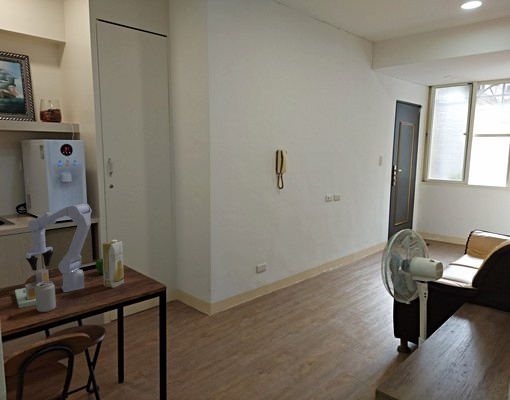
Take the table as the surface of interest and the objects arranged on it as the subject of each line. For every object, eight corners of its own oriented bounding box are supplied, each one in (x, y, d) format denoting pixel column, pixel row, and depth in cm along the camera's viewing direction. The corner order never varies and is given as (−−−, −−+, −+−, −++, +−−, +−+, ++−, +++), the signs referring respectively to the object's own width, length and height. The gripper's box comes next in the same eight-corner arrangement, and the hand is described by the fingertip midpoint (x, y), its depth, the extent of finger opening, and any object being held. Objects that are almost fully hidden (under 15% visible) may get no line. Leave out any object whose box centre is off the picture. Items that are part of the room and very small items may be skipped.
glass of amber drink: (36, 299, 176) (35, 282, 175) (37, 302, 173) (36, 285, 172) (26, 301, 174) (25, 284, 173) (27, 304, 171) (26, 287, 170)
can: (41, 305, 169) (39, 280, 167) (58, 305, 170) (57, 280, 168) (33, 313, 162) (31, 286, 160) (51, 312, 162) (49, 286, 161)
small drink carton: (43, 283, 196) (42, 268, 195) (49, 284, 195) (48, 269, 194) (36, 286, 192) (35, 271, 191) (42, 287, 191) (41, 272, 190)
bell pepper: (100, 276, 208) (100, 258, 206) (93, 272, 213) (92, 255, 212) (115, 272, 214) (114, 255, 213) (107, 269, 219) (107, 252, 218)
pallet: (41, 288, 189) (40, 285, 188) (47, 302, 173) (46, 298, 173) (15, 293, 182) (14, 289, 182) (19, 308, 166) (18, 303, 166)
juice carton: (113, 289, 190) (111, 242, 186) (101, 286, 193) (99, 241, 189) (126, 282, 198) (124, 238, 195) (114, 280, 201) (112, 237, 198)
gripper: (44, 238, 198) (46, 263, 200) (20, 244, 184) (22, 271, 186) (55, 239, 196) (56, 264, 198) (31, 246, 182) (33, 273, 184)
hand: (40, 267), depth 192 cm, fingers open, 7 cm apart
